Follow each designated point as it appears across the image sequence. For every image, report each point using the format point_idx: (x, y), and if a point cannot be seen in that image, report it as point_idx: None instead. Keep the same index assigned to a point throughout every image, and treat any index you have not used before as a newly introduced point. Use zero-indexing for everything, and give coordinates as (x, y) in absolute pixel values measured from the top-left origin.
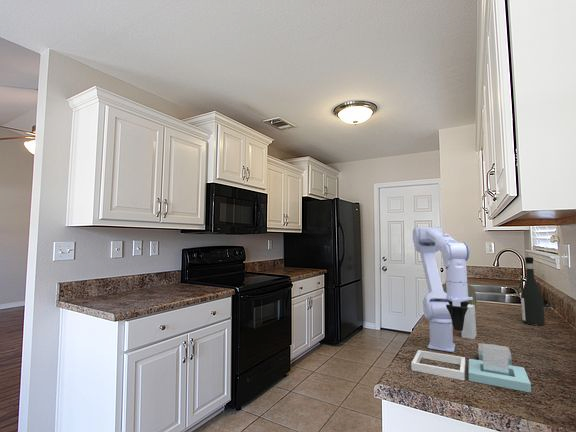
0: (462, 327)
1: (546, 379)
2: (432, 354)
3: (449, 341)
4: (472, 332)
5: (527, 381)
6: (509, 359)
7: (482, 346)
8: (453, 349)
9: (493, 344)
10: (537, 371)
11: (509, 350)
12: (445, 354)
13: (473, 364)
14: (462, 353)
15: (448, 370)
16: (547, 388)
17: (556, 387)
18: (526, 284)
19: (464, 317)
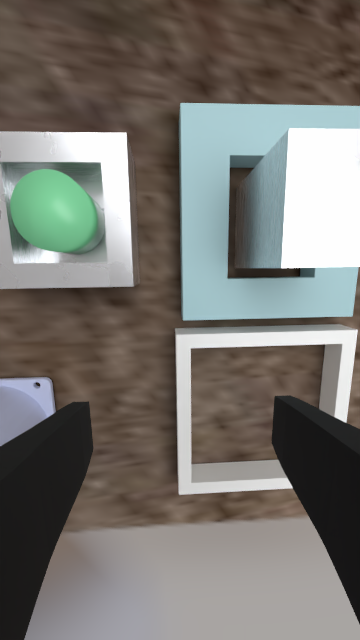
0: (309, 407)
1: (182, 38)
2: (190, 443)
3: (10, 413)
4: None
5: (355, 114)
6: (129, 153)
7: (344, 266)
8: (24, 382)
9: (11, 210)
10: (95, 57)
11: (38, 132)
12: (179, 404)
13: (251, 302)
14: (34, 345)
15: (349, 376)
16: (285, 56)
17: (257, 17)
18: None
19: (53, 432)
